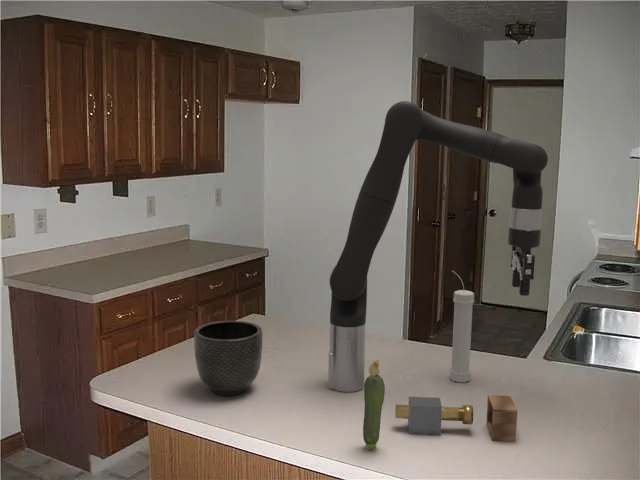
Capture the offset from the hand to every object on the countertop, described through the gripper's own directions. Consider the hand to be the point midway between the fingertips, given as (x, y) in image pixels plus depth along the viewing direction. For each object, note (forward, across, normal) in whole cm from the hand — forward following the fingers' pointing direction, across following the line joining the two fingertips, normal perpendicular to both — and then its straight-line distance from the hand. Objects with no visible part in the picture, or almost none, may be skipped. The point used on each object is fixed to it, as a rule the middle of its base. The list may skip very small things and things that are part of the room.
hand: (520, 290), depth 169 cm
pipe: (+28, -10, -12) cm, 32 cm away
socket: (+28, +22, -7) cm, 36 cm away
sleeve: (+28, +22, -24) cm, 43 cm away
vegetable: (+28, +32, -36) cm, 55 cm away
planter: (+28, +3, -72) cm, 78 cm away
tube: (+26, +22, -22) cm, 40 cm away
